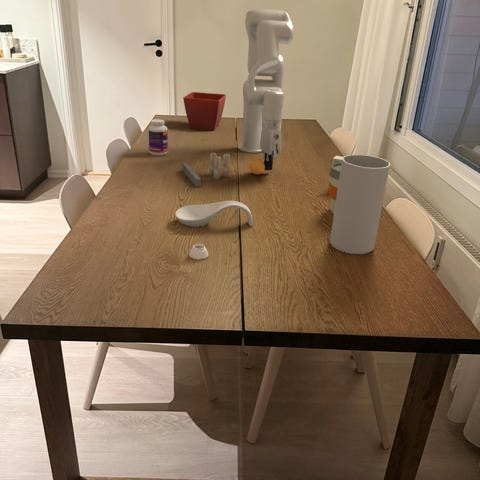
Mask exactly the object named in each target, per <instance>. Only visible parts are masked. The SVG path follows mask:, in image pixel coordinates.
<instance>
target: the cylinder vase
mask: <svg viewBox="0 0 480 480" xmlns="http://www.w3.org/2000/svg"><path fill="white" fill-rule="evenodd" d="M342 157H343V158H342V164H341V171H340V177H339V184H338V190H337V197H336V204H335V210H334V213H333V218H332V224H331V232H330V238H329V243H330V245H331V246H332V247H333V248H334V249H336V250H337V251H339V252H342V253H344V252H345V254H348V253H349V255H365V254H369V253H371V252H372V251H373V250H374V249H375V246H376V239H377V235H378V230H379V224H380V221H381V220H380V219H381V215H382V208H383V204H384V199H385V194H386V189H387V184H388V179H389V174H390V173H389V172H390V167H391V163H390V162H389V161H388V160H386V159H384V158H381V157H377V156H374V155H367V154H347V155H344V156H342Z"/></svg>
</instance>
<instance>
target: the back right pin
mask: <svg viewBox="0 0 480 480" xmlns="http://www.w3.org/2000/svg"><path fill="white" fill-rule="evenodd" d="M209 154H210V155H209V159H210V160H209V176H213V177H214V157H215V156H217V153H216V152H210V153H209Z"/></svg>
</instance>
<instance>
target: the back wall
mask: <svg viewBox="0 0 480 480" xmlns="http://www.w3.org/2000/svg"><path fill="white" fill-rule="evenodd" d="M181 166H182V167H181V168H182V170H181V171H182V172H183V173H184V174H185V175H186V177H187V178H188V180H190V182H191V183H192V182H193V183H192V184H193V185H194V186H195V187H196V188H200V187H201V181H202V179H201V177H200V176H199V175H198V174H197V173H196V172H195V171H194V169H192V167H191V166H189V164H188V163H186V162H182V164H181Z"/></svg>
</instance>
